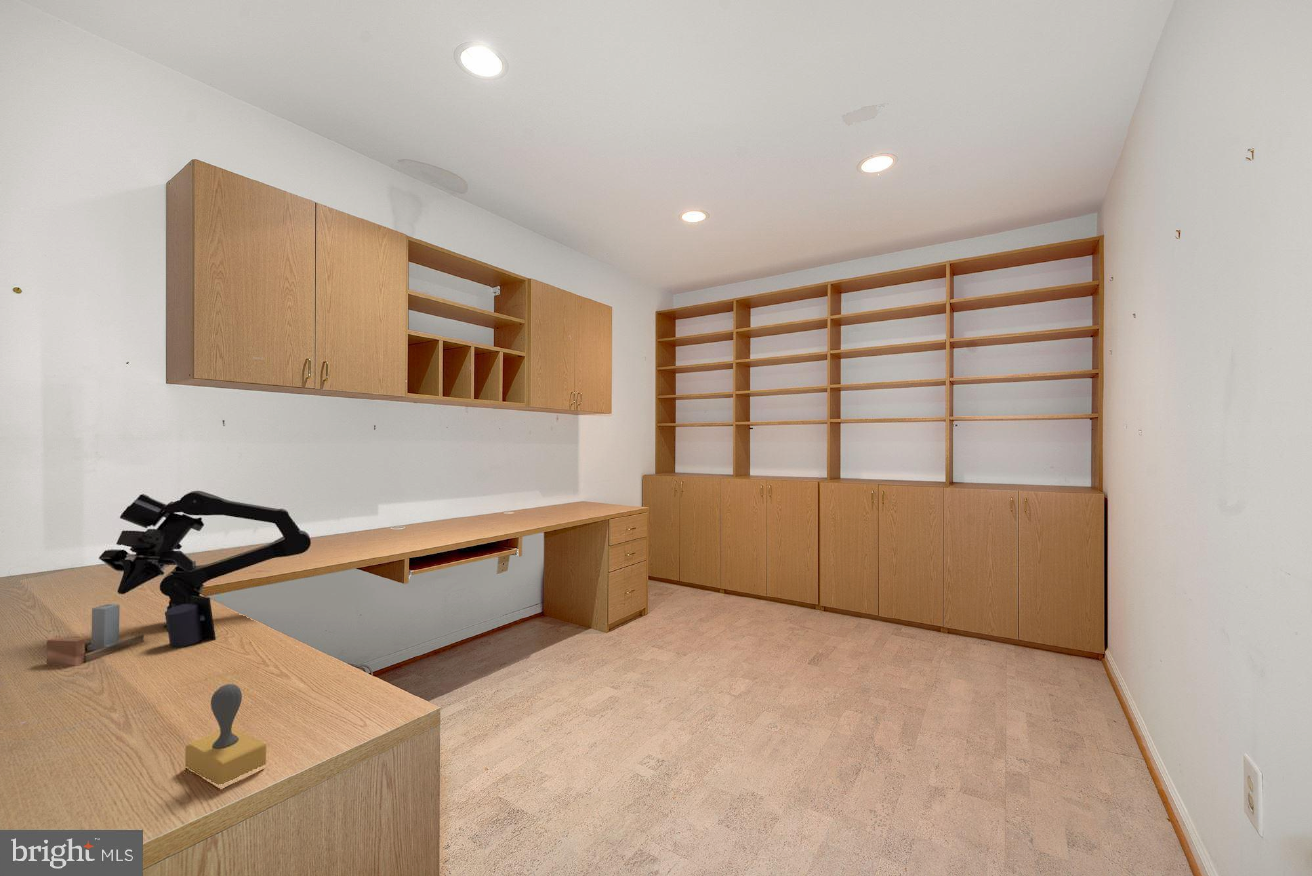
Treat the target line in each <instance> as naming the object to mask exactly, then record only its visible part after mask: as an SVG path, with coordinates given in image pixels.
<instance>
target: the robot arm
mask: <svg viewBox="0 0 1312 876" xmlns="http://www.w3.org/2000/svg"><path fill="white" fill-rule="evenodd" d="M179 513H182V514H179ZM192 516H225V517H226V516H227V517H232V518H239V519H246V520H251V521H257V522H263V523H271V524H274V525H275V526H276V527H277V529H278V530H279V532H280V534H281V535H282V536H280V537H279V538H277V539H275V540H274V541H272V542H270V543H268V544H265V545H261V546H259V547H257V548H253V549H250V550H248V551H244V552H240V553H237V554H235V555H231V556H229V557H228V556H227V557H225V558H222V559H220V560H217V561H216V560H215V561H214V562H210V563H206V564H201V565H199V564H198V565H197V563H196V560H192V559H191V558H190V557H189V556H188V555H186V554H185V553H184V552H182V550H181V549H182V547H183V545H181V544H180V543H181V542H182V541H183V539H184V538H185V537H186V535H188V533H189V532H190V531H191V530H195V531H197V532H200V531H201V530H202V529H203V528H204V526H205V523H204V522H203V519H202V517H192ZM163 518H165V519H164V520H163V521H162V522H161V523H160V524H159V522H160V521H161V520H162V519H163ZM119 519H122V520H124V521H126V522H129V523H130V524H131V523H132V524H134V525H137V526H140V527H142V528H144V529H146V530H145V531H142V530H122V531H121V532H120V534H119V537H118V539H117V541H116V545H117V546H125V547H130V549H129V551H131V552H132V553H129V552H127V550H125V549H113V548H112V549H111V548H110V549H107V550H104V551H103V552H102V553H101V554H100V555H99V557H98V559H99V560H100V561H101V562H103V563H104V564H106V566H108V567H110V568H111V569H113V570H114V571H117V572H122V573H123V574H122V575H121V576H122V577H121V580H120V582H119V585H118V589H117V593H118V594H119V595H126V594H127V593H129V592H130V591H133V590H134V589H136V588H137V587H139V586H141V585H143V584H145V583H147V582H149V581H151V580H154V579H155V578H157V577H160V576H164V575H165V572H164V570H165V568H167V567H169V566H175V567H174V568H173V569H172V570H171V571H170V572H168V573H167V574H166V575H165V576H164V577H163V579H162V580H161V581H160V584H159V591H160V592H161V593H162V595H164V596H165V597H168V598H169V600H168V605H167V607H166V611H167V610H168V609H170V608H172V607H175V606H178V605H182V604H188V603H191V598H190V596H200V597H206V595H205V596H204V595H201V594H202V592H203V590H204V588H205V585H204V584H205V583H207V582H209V581H210V580H214V579H216V578H219V577H222V576H225V575H228V574H230V573H231V574H232V573H234V572H236V571H239V570H243V569H246V568H249V567H252V566H254V565H257V564H260V563H263V562H266V561H269V560H272V559H276V558H285V557H291V556H296V555H301V554H303V553H306V552H307V551H308V550H309V549H310V547H311V544H312V541H311V536H310V535H309V533H307V531H305V530H302V529H301V528H299V526H298V525H297V523H296V522H295V521H294V519H293V518H292V516H291V515H290V513H289V511H288V510H286V509H284V508H275V507H269V506H262V505H258V504H257V505H256V504H252V503H251V504H250V503H246V502H239V501H234V500H233V501H232V500H229V499H225V498H222V497H220V496H218V495H215V494H212V493H209V492H206V491H203V490H193V491H190V492H187V493H186V494H184V495H183V496H181V498H180V499H177V500H175V501H170V502H168V503H167V504H166V503H163V502H162V501H159V500H156V499H154V498H152V497H151V496H149V495H147V494H145V493H141V494H139V496H138V497H137V498H136V499H135V500H134V501H133V502H132V503H131V504H129V505H128V506H127V507H126V508H125V509H124V510H123V512H122V513H121V515H120V516H119ZM158 524H159V525H158ZM157 525H158V527H157V528H155V527H156V526H157ZM151 526H152V527H154V528H148V527H151ZM147 528H148V529H147ZM163 628H167V623H165V624H163Z"/></svg>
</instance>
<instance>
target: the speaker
mask: <svg viewBox="0 0 1312 876" xmlns="http://www.w3.org/2000/svg"><path fill="white" fill-rule="evenodd" d="M200 596H201V595H200ZM200 596H190V598H191V603H188V604H182V605H178V606H175V607H172V608H170V609H168V610H167V609H166V611H165V612H164V615H165V621H166V623H165V624H167V627H166V628H167V629H166V630H167V633H168V641H169V646H170V647H172V648H174V649H175V648H176V649H177V648H178V649H179V648H183V647H184V648H185V647H188V646H191V645H195V644H196V643H198V642H200V641H201V640H202V639H204V640H211V641H215V640H216V639H217V638H216V630H215V624H214V623H215V622H214V619H213V611H212V603H211V597H208V596H205V597H200Z"/></svg>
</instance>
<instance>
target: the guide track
mask: <svg viewBox="0 0 1312 876" xmlns="http://www.w3.org/2000/svg"><path fill="white" fill-rule="evenodd" d="M144 640H145V639H144V634H139V635H136V636H134V637H131V638H128V639H124V640H122V642H119V643H116V644H113V645H110V646H108V647H105V648H102V649H99V650H96V651H91V652H90V650H87V646H88V645H91V641H89V642H86V638H82V637H81V638H78V637H53V638H50V639H47V640H46V665H48V666H74V667H75V666H78V665H81V664H87V663H89V662H91V661H95V660H97V659H100V658H102V657H106V656H108V655H110V654H113V653H116V652H119V651H121V650H125V649H127V648H130V647H133V646H135V645H138V644H141V643H143V642H144ZM86 652H88V653H86ZM85 653H86V654H85ZM105 655H106V656H105Z"/></svg>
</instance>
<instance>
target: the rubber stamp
mask: <svg viewBox="0 0 1312 876" xmlns="http://www.w3.org/2000/svg"><path fill="white" fill-rule="evenodd" d="M242 697H243V694H242V690H241V689H240V688H239V686H238V685H237V684H233V683H226V684H224V685H222V686H220V687H218V689H216V690H215V691H214V693H213V694H212V696H211V699H210V708H211V711H212V713H213V715H214V718H215V719H216V721H217V723H218V726H219V729H220V730H218V731H215V732H213V733H211V734H208V735H205V736H203V737H201V738H198V739H196V740H193V741H190V742H188V743H187V744H186V745H185V750H184V751H185V756H184V757H185V761H184V763H185V764H184V766H186V767H188V769H190V770H192V771H194V772H195V773H197V774H199V775H201V776H202V777H205V778H206V779H209V780H211V782H214V783H216V784H218V785H219V784H224V783H225V782H228V781H230V780H233V779H235V778H237V777H239V776H240V775H243V774H245V773H248V772H249V771H252V770H253V769H257V768H258V767H261V766H263V765H265V764H266V765H267V743H266V742H263V741H261V740H259V739H257V738H255V737H253V736H251V735H249V734H248V733H245V732H243V731H241V730H239V729H238V728H235V727H233V723H234V720H235V718H236V716H237V713H238V711H239V709H240V706H241V704H242V699H243V698H242Z"/></svg>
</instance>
